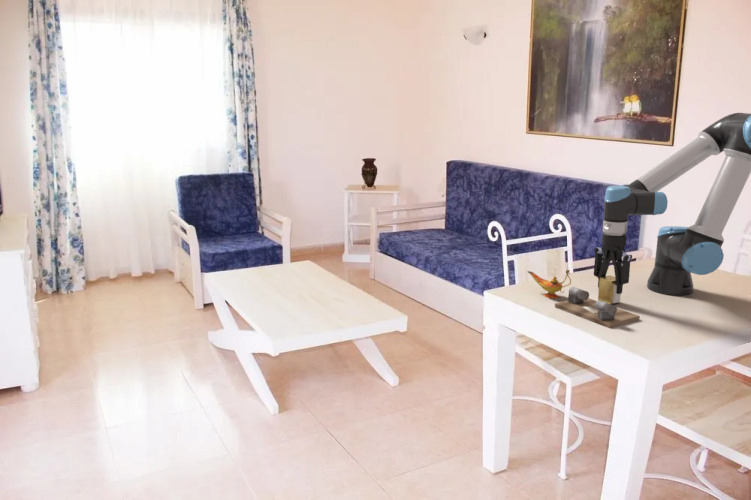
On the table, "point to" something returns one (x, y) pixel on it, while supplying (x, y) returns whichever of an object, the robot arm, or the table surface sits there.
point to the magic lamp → (550, 284)
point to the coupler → (606, 289)
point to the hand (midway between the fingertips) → (609, 299)
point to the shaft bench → (595, 309)
